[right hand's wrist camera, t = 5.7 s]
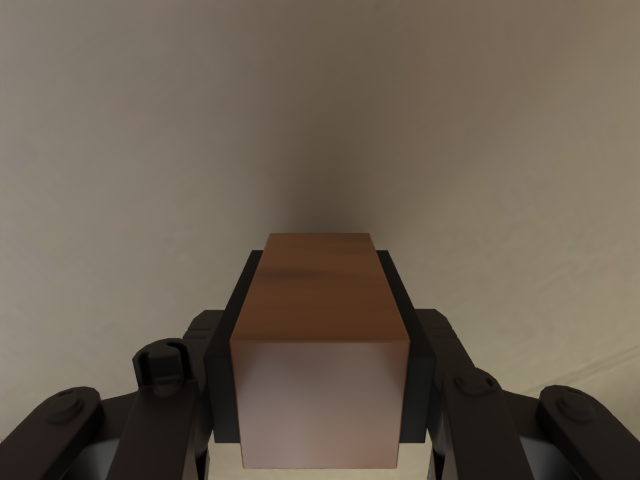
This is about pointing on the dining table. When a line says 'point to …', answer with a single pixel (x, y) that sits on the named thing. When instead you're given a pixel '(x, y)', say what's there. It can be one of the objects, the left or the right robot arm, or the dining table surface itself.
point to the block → (319, 357)
